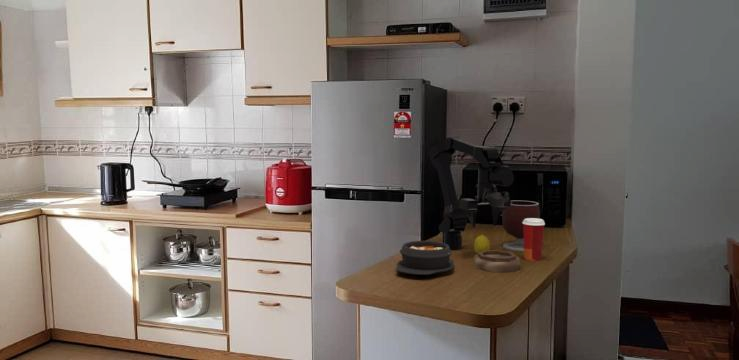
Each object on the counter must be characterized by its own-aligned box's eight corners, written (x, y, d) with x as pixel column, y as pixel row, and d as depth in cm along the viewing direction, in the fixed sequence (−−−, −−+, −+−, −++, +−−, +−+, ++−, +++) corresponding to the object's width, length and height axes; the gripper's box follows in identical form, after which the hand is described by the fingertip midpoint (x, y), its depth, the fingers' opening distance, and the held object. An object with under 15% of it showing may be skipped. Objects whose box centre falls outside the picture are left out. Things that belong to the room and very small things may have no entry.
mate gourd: (535, 243, 247) (537, 193, 245) (541, 251, 234) (543, 198, 231) (495, 242, 249) (496, 192, 247) (498, 250, 235) (500, 197, 233)
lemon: (472, 255, 228) (472, 233, 227) (487, 254, 228) (487, 233, 227) (475, 258, 222) (476, 236, 221) (491, 258, 223) (492, 236, 222)
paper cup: (544, 257, 225) (546, 218, 223) (543, 262, 217) (544, 222, 216) (522, 255, 227) (523, 217, 225) (519, 260, 220) (521, 220, 218)
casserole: (437, 283, 190) (438, 256, 189) (382, 275, 199) (382, 249, 198) (465, 265, 212) (466, 241, 211) (415, 259, 221) (415, 235, 220)
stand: (465, 266, 210) (465, 254, 210) (488, 259, 222) (488, 247, 221) (505, 274, 201) (506, 261, 200) (527, 266, 212) (528, 253, 212)
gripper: (478, 187, 211) (476, 233, 213) (522, 184, 219) (520, 229, 221) (459, 182, 220) (457, 226, 223) (502, 180, 229) (500, 223, 231)
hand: (484, 226), depth 224 cm, fingers open, 9 cm apart
